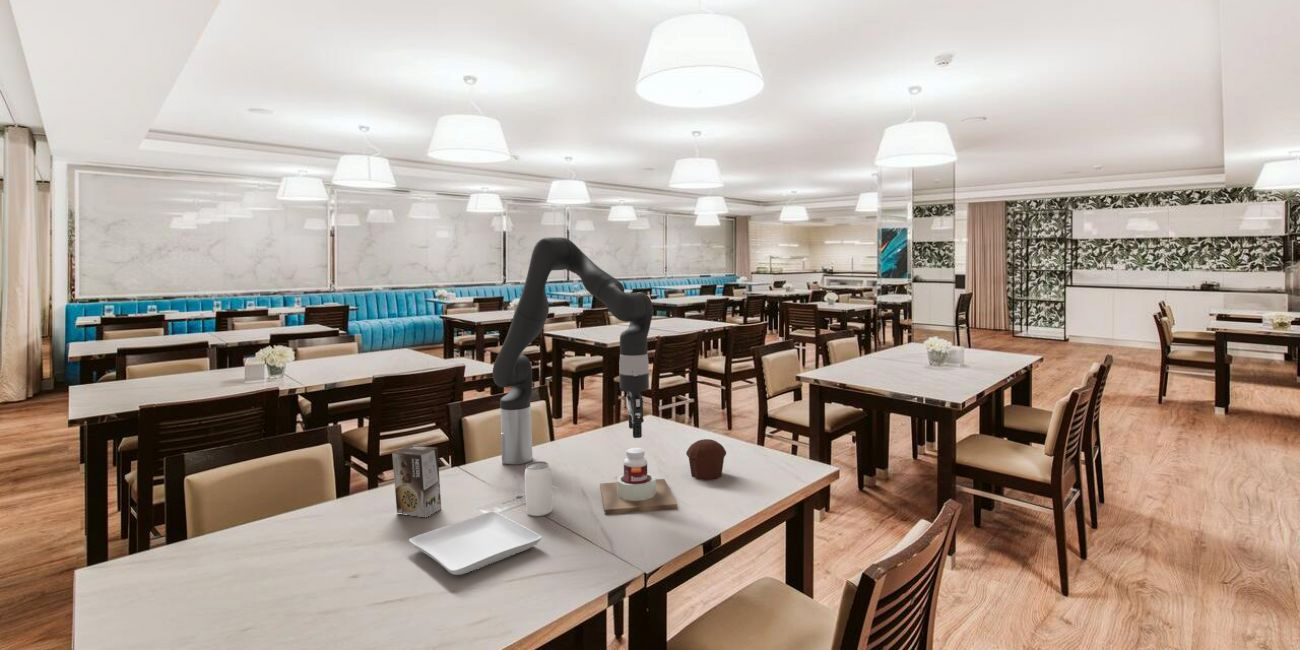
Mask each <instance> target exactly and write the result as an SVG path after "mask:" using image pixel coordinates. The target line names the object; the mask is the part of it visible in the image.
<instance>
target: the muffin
mask: <svg viewBox="0 0 1300 650" xmlns="http://www.w3.org/2000/svg"><path fill="white" fill-rule="evenodd" d="M685 455H686V457H688V463H689V469H690V474H691V477H692V478H695V479H697V480H701V481H711V480H712V481H713V480H717V479H719V478H721V477H722V475H723V468H724V460H725V456H726V455H727V451H726V449H725V448H724V446H723V445H722V444H721V443H719V442H718V441H716V440H714V439H710V438H709V439H699V440H696V441H695V442H693V443H692V444H691V445H689V447H688V449H687V450H686V453H685Z"/></svg>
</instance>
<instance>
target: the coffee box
mask: <svg viewBox="0 0 1300 650" xmlns="http://www.w3.org/2000/svg"><path fill="white" fill-rule="evenodd" d="M391 454H392V469H393V477H394V478H393V479H394V481H393V482H394V491H395V492H394V493H395V494H394V495H395V503H396V504H395V505H396V514H397V513H402V514H407V515H413V516H419V517H418V518H420V517H425V518H424V519H427V518H429V517H430V516H432V515H434V514H436V513H437V512H439V511H441V510H442V501H441V500H442V499H441V497H442V495H441V483H440V468H439V466H440V465H439V464H440V463H439V448H438V447H433V446H421V445H407V446H404V447H402V448H400V449H398V450H395V451H394V452H392V453H391ZM440 509H441V510H440ZM438 510H439V511H438ZM436 511H437V512H436ZM435 512H436V513H435ZM433 513H434V514H433ZM431 514H432V515H431ZM428 516H429V517H428ZM426 517H427V518H426Z"/></svg>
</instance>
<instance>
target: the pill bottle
mask: <svg viewBox="0 0 1300 650" xmlns="http://www.w3.org/2000/svg"><path fill="white" fill-rule="evenodd" d="M625 452H626V457H625V459H624V460H623V474H624V482H625V483H628V484H643V483H646V482H647V473H648V459H646V457H645V449H644V448H641V447H631V448H628V449H626V451H625Z"/></svg>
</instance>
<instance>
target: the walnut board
mask: <svg viewBox="0 0 1300 650" xmlns="http://www.w3.org/2000/svg"><path fill="white" fill-rule="evenodd" d="M599 489H600V494H601V500H602V506H603V510H604V515H614V514H615V515H616V514H617V515H618V514H627V513H640V512H651V511H652V512H654V511H663V510H664V511H666V510H676V509H678V503H677V501H676V499H675V497H674V495H673V493H672V491H671V489H670V487H669V485H668V483H667V481H666V479H665V478H658V479H656V495H655V496H654V497H653V498H650V499H647V500H641V501H630V500H624V499H622V498H620V497H618V494H617V481H616V482H603V483H599Z"/></svg>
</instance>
